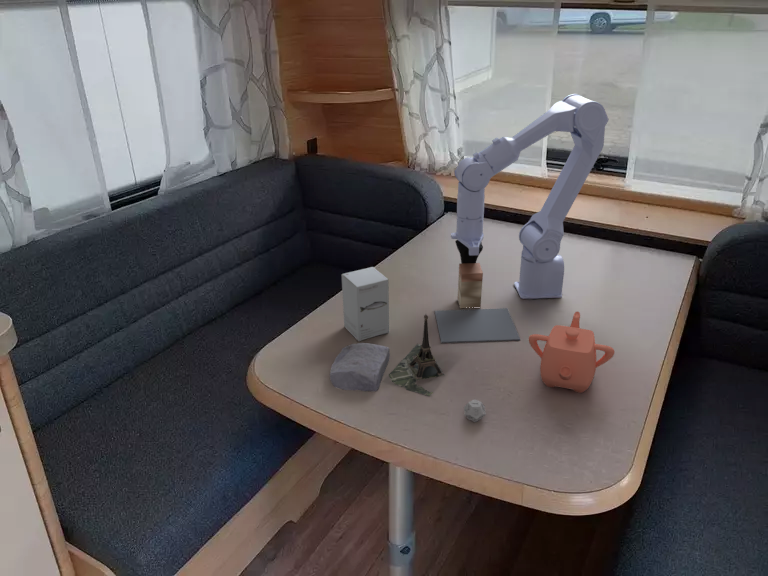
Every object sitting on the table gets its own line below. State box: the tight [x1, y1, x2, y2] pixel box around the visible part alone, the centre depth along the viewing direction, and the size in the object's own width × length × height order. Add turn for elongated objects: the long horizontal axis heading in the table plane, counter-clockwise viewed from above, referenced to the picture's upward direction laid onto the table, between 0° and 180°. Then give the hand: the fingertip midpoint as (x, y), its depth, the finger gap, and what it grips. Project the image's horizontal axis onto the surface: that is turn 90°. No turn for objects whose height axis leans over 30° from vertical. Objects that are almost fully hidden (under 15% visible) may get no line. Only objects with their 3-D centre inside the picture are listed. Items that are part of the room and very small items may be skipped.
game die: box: [463, 398, 487, 423], centre depth 105 cm, size 4×4×3 cm
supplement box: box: [341, 266, 390, 342], centre depth 129 cm, size 7×7×13 cm
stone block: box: [329, 342, 391, 392], centre depth 117 cm, size 12×5×10 cm
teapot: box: [528, 311, 616, 394], centre depth 112 cm, size 14×12×10 cm
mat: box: [434, 307, 521, 344], centre depth 132 cm, size 16×13×1 cm
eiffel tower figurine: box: [388, 314, 445, 397], centre depth 116 cm, size 15×10×13 cm
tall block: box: [457, 262, 484, 309], centre depth 138 cm, size 4×4×9 cm
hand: (467, 272), depth 141 cm, fingers closed
